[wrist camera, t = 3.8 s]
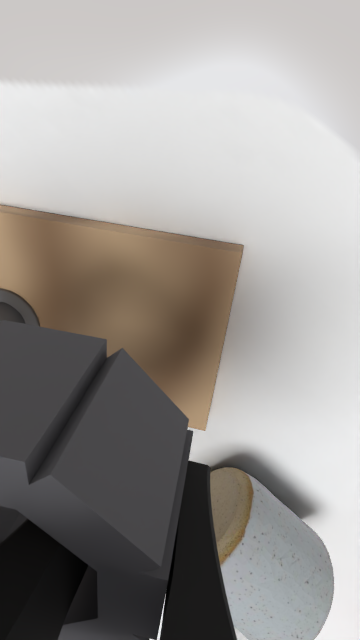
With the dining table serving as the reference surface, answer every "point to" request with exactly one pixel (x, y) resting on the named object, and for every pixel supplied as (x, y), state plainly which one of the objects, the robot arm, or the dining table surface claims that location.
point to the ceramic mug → (268, 561)
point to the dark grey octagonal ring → (93, 472)
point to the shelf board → (125, 294)
